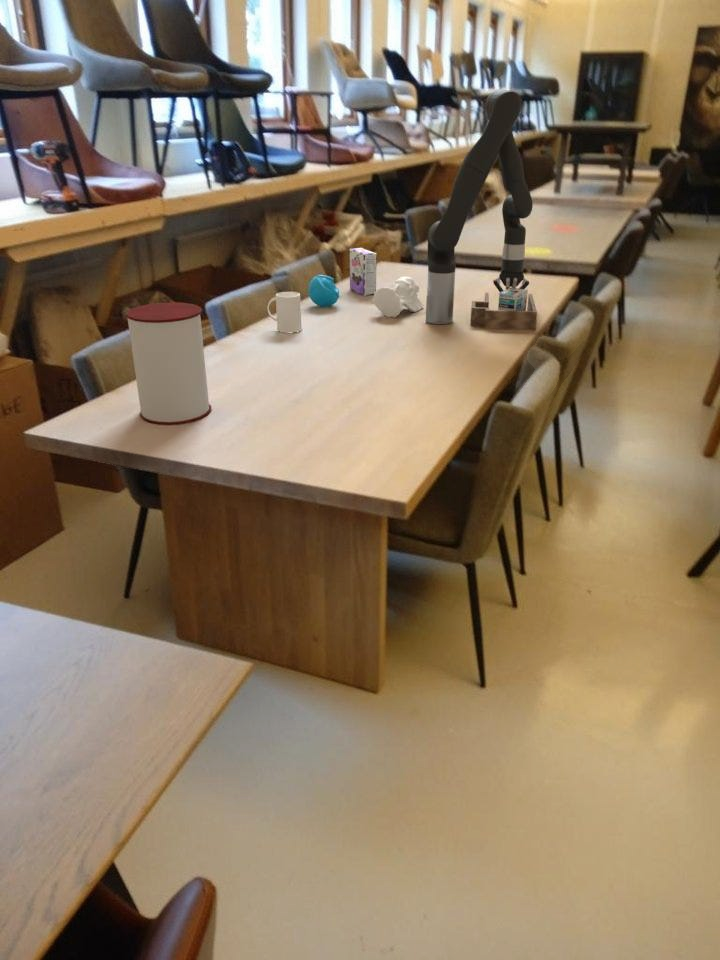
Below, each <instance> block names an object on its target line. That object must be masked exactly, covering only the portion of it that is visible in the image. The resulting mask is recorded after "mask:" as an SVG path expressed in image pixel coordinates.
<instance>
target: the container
mask: <svg viewBox="0 0 720 960" xmlns="http://www.w3.org/2000/svg"><path fill="white" fill-rule="evenodd" d="M202 313H203V308H202V307H200V306H199V305H197V304H193V303H189V302H188V303H187V302H175V301H172V302H157V303H148V304H143V305H138V306H134V307H132V308H129V309H128V310H127V311H126V313H125V317H126V318H127V324H128V330H129V337H130V343H131V351H132V358H133V365H134V371H135V380H136V387H137V392H138V393H137V395H138V400H139V406H140V409H139V410H140V412H139V416H140V418H141V419H142V420H143V421H145V422H147V423H149V424H153V425H154V424H155V425H163V426H173V425H183V424H188V423H190V424H191V423H194V422H197V421H199V420H202V419H204V418H206V417H207V416H209V415H210V413H212V405H211V404H210V402H209V392H208V391H209V390H208V380H207V371H206V370H207V368H206V359H205V348H204V341H203V340H204V339H203V330H202V320H201V319H202V318H201V314H202Z"/></svg>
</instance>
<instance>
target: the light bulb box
mask: <svg viewBox="0 0 720 960" xmlns="http://www.w3.org/2000/svg"><path fill="white" fill-rule="evenodd" d="M503 290H504V289H503ZM528 293H529V290H528V289H526V288H525V289H519V287H518V288H517V287H516V288H512V287H510V288H508V289H506V288H505V290H504V291H503V292H499V293H498V305H497V306H498V308H497V310H509V311H527V304H528Z"/></svg>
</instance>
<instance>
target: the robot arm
mask: <svg viewBox="0 0 720 960" xmlns="http://www.w3.org/2000/svg"><path fill="white" fill-rule="evenodd" d="M521 99H522V98H521V96H520V95H519V94H518V92H515V91H514V90H510V89H503V88H502V89H501V88H499V89H494V90H493V91H491V92H490V93H489V94H488V96H487V98H486V101H485V104H484V105H485V107H484V108H485V113H486V117H487V119H488V122H487V125H486V127H485V129H484V131H483V133H482V134H481V136H480V138H479V139H478V140H477V141H476V142H475V143H474V145H473V146H472V147H471V148H470V150H469V151H468V152H467V154H466V155H465V157H464V159H462V163H461V165H460V167H459V169H458V171H457V173H456V176H455V179H454V182H453V186H452V190H451V193H450V199H449V202H448V204H447V207H446V209H445V211H444V213H443V215H442V217H441V219H440V220H437V221H435V222H434V223H433V224H431V226H430V228H429V230H428V233H427V256H426V257H427V266H428V267H427V268H428V269H427V270H428V271H427V293H426V306H425V307H426V308H425V309H426V310H425V323H428V324H433V325H435V324H436V325H445V324H446V325H447V324H451V323H453V322H454V305H455V303H454V300H455V285H456V284H455V281H456V280H455V279H456V269H457V268H456V266H457V264H456V263H457V262H456V260H455V259H456V258H455V248H456V247H457V245H458V243H459V240H460V238H461V235H462V233H463V230H464V226H465V224H466V221H467V218H468V215H469V214H470V212H471V210H472V208H473V206H474V205H475V203H476V201H477V198H478V197H479V195H480V192H481V190H482V189H483V187H484V185H485V182H486V181H487V178H488V176H489V175H490V172H491V169H492V167H493V165H494V163H495V161H496V159H497V156H498V160H499V167H500V174H501V178H502V179H501V180H502V185H503V188H504V189H505V190H506V192H509V193H510V194H509V195H508V196H506V197H505V199H504V201H503V202H502V207H501V208H502V209H501V210H502V211H501V212H502V220H503V221H502V222H503V226H504V237H503V238H504V239H503V247H502V253H501V269H500V273H499V276H498V277H497V278H495V279H493V280H492V283H493V284H494V286H495V287H496V288H495V289H497V290H498V292H499V293H500V292H503V291H504V289H503V287H502V286H501V283H502V284H503V286H504V287H505V290H506V289H508V288H510V287H511V288H517V287H518V286H519V285H520V284H521V285H520V286H519V287H518V289H526V288H527V287H528V286H529V284H530V281H529V280H528V279H526V278H525V274H524V266H525V265H524V264H525V255H526V246H525V245H526V234H527V229H526V227H525V226H524V225H523V224H521V219H523V220H524V219H526V218H528V217H529V216H531V213H532V212H533V207H534V205H533V198H532V195H531V192H530V190H529V187H528V185H527V183H526V181H525V180H526V179H525V172H524V166H523V160H522V156H521V153H520V151H519V149H518V145H517V143H516V139H515V137H514V133H513V129H512V128H513V126H514V124H515V123H516V121H517V120H518V117H519V115H520V113H521V110H522V100H521Z"/></svg>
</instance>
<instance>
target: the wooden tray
mask: <svg viewBox="0 0 720 960" xmlns="http://www.w3.org/2000/svg"><path fill="white" fill-rule="evenodd" d="M489 295H490V293H489V292H485V293H484V301H482V300H472V301H471V307H470V308H471V309H470V326H472V327H473V326H474V327H475V326H478V327H484V329H492V330H493V329H494V330H495V329H496V330H497V329H498V330H521V331H523V330H524V331H536V327H537V317H538V316H537V315H538V309H537V308H536V304H535V300H534V296H533V294H531V293H529V294H528V295H527V305H526V311H509V310H498V309H490V307H489V304H490V300H489V299H490V297H489Z"/></svg>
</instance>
